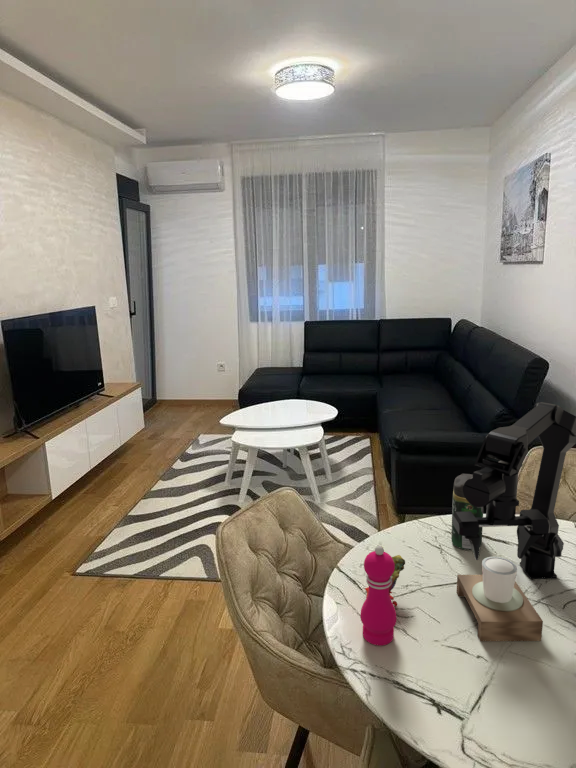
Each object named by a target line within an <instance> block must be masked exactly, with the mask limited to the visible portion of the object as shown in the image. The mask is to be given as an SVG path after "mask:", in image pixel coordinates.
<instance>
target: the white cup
mask: <svg viewBox="0 0 576 768" xmlns="http://www.w3.org/2000/svg"><path fill="white" fill-rule="evenodd" d="M481 567H482V568H481V569H482V575H483V592H484V595H485V596H486V598H488V599H489V600H491V601H494V602H499V603H506V602H508V601H510V600H511V598H512V594H513V589H514V584H515V581H516V578H517V572H518V568H517V567H518V566H517V565H516V564H515V563H514V562H513V561H512V560H510V559H507V558H505V557H502V556H501V557H500V556H487V557H485V558H483V559H482V561H481Z"/></svg>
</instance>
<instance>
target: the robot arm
mask: <svg viewBox="0 0 576 768" xmlns="http://www.w3.org/2000/svg"><path fill="white" fill-rule="evenodd" d="M537 437H538V439H539V440H540V441H539V442H540V443H541V445H542V449H543V450H542V454H541V460H540V464H539V469H538V475H537V479H536V484H535V489H534V495H533V498H532V504H531V507H530V508H529V509H521V510H520V511H519V516H517V515H516V513H517V512H516V511H517V507H519V506H520V500H518V498H517V497H518V496H517V495H518V483H519V471H520V469H521V468H522V467H523V466H524V465H523V462H524V460H525V458H526V456H527V455H528V452H529V451H528V450H529V449H528V447H529V445H530V444H531V443H532V442H533V441H534V440H535V439H537ZM574 445H576V415H574V414H572V413H570V412H568V411H566V410H564V408H563V407H561V406H559V405H558V404H556V403H548V402H544V401H540V402H536V403H535V405H534V407H533V408H532V409H530V410H529V411H528V412H527V413H526V414H524V415H523V416H522V417H520V418H519V419H518V420H517V421H515V423H513V424H512V425H509V426H503V427H501V426H500V427H497V428H496V429H495V428H494V429H493V430H491V431H490V432H489V433H488V434H487V435H485V437H484V439H483V442H482V444H481V447H480V449H479V451H478V454H477V457H476V459H475V461H474V466H475V467H476V466H477V467H480V469H479V470H476V471H473V473H472V475H473V477H472V478H470V479H468V480H467V481H466V482H465V484H464V486H463V494H464V496H465V498H466V500H467V501H468V502H469V503H470V504H471V505H473V506H476V507H477V508H481V512H482V513H483V515H485V516H483V517H477V518H475V516H474V515H473V514H472V512H471V511H467V512H455V513H454V514H453V515H452V514H451V525H452V524H453V525H454V527H455V529H456V530H457V532H458V534H459V535H462V536H464V537H465V538H466V539H469V542H470V545H471V548H472V550H471V551H472V554H473V557H474V559H475V560H476V561H478V560H479V558H480V548H481V547H480V536H479V535H478V533H479V527H482V528H491V527H492V528H493V527H500V528H501V527H517V528H516V537H517V550H516V551H517V554H516V555H517V558H518V559H519V560H520V561H519V566H520V568H522V570H523V572H525V574H526V575H527V576H528V577H529V578H530V579H531V580H533V579H534V580H535V579H540V580H541V579H544V580H545V579H546V580H547V579H548V580H549V579H557V578H558V574H557V573H555V566H556V558H561V557H562V552H563V550H564V545H565V543H564V541H563V540H562V538H561V537H560V535H559V528H560V527H559V526H560V525H559V523H558V520H557V517H556V515H555V507H556V504H557V503H556V502H557V497H558V493H559V489H560V488H559V487H560V484H561V479H562V473H563V468H564V464H565V459H566V455H567V453H568V451H570V450H571V449H572V447H574ZM487 457H488V458H490V459H488V458H487ZM491 459H495V460H497V461H495V460H491ZM529 578H528V579H529Z"/></svg>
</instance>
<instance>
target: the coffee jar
mask: <svg viewBox="0 0 576 768" xmlns="http://www.w3.org/2000/svg"><path fill="white" fill-rule="evenodd" d="M472 477H473V473H472V474H470V473H461V474H460V475H457V476H456V477H455V479H454V482H453V487H452V488H453V489H452V490H453V491H452V505H451V506H452V507H451V508H452V509H451V511H452V512H451V516H452V515H453V514H454V513H455V512H467V511H471V512H472V514H473V515H474V516H475V518H477V517H484V514H483V513H482V512H481V508H477V507H476V506H473V505H471V504H470V503H469V502H468V501H467V500H466V498H465V496H464V494H463V486H464V484H465V482H466V481H467V480H468V479H470V478H472ZM478 535H479V536H480V548H481V547H482V543H483V542H482V541H483V527H479V533H478ZM451 543H452V545H453V546H454V547H456V548H459V549H461V550H464V551H472V548H471V545H470V542H469V539H466V538H465V537H464V536H462V535H459V534H458V532H457V530H456V529H455V527H454V525H453V524H452V523H451Z"/></svg>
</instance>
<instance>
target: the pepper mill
mask: <svg viewBox="0 0 576 768" xmlns="http://www.w3.org/2000/svg"><path fill="white" fill-rule="evenodd" d="M392 557H393V556H392V555H390V554H389V553H388V552H386V551H385V550H384V547H383V546H381V545H377V546H376V547H375V548H374V551H371V552H369V553H368V554H367V555H366V556H365V559H364V561H363V569H364V573H366V574H365V575H366V576H365V577H366V579H365V581H366V584H367V585H368V587H369V593H368V596H367V595H366V596H367V598H365V600H364V602H363V604H362V605H361V610H360V621H361V623H362V624H363V625H362V636H363V638H364V640H365V641H366V642H367V643H369V644H371V645H374V646H380V647H381V646H386V645H389V644H391V642H393V640H394V638H395V636H394V635H395V629H394V627H395V626H396V624H397V611H396V607H395V605H394V604H393V603H392V602H393V600H391V599H390V596H391V595H390V596H389V587H390V586H391V584H392V581H391V580H392V576H391V575H392V574H393V572H394V569H395V565H394V561H393V559H392Z"/></svg>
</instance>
